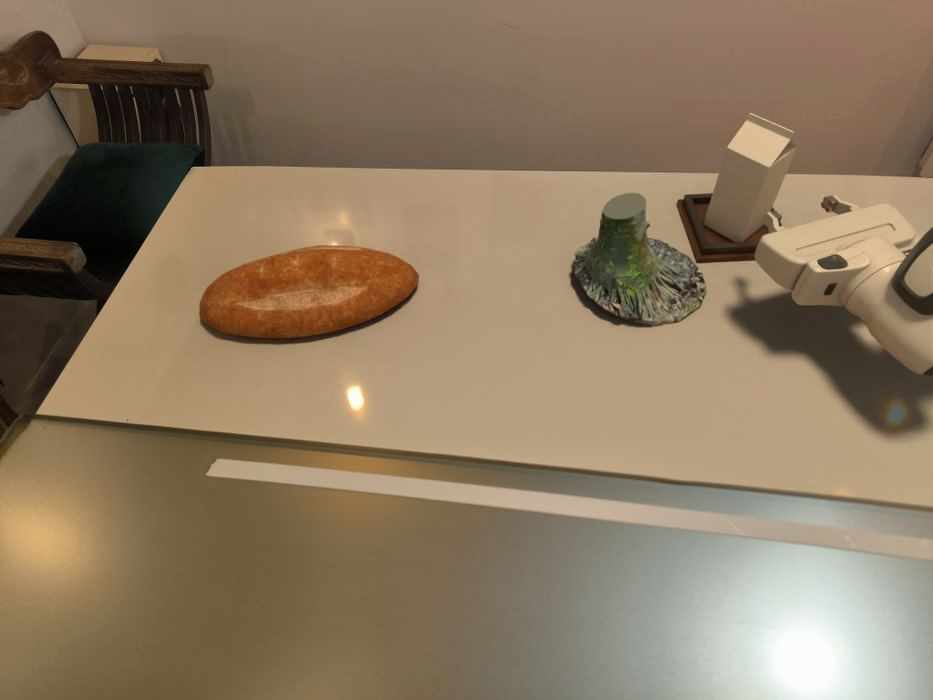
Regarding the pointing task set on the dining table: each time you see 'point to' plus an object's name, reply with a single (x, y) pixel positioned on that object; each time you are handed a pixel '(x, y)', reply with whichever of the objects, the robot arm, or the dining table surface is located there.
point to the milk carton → (750, 178)
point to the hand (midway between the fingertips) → (797, 207)
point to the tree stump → (637, 268)
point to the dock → (714, 233)
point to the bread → (307, 292)
